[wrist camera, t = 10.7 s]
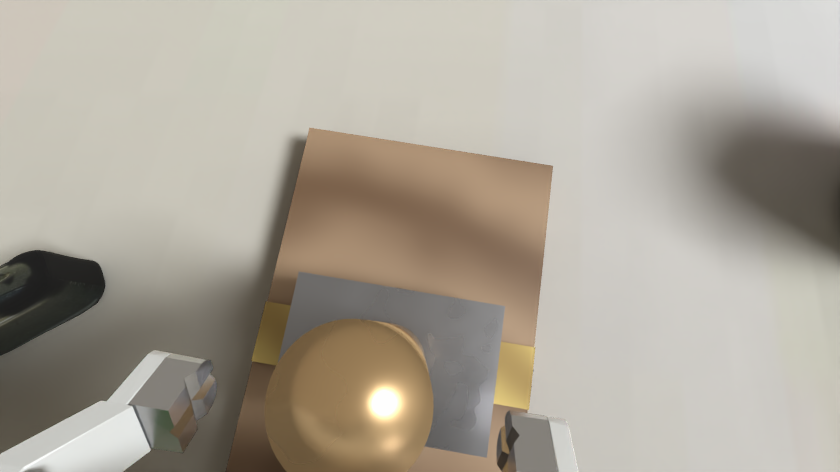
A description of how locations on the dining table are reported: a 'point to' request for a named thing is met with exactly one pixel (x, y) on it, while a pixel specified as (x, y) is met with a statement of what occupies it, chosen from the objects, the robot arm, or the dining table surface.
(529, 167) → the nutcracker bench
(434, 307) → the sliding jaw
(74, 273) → the mobile phone
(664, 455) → the dining table surface
